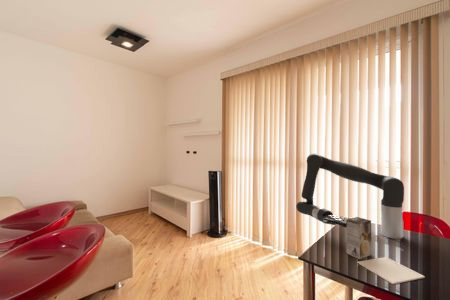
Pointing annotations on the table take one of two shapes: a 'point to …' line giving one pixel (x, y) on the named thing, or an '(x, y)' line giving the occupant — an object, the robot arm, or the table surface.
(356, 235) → the coffee box
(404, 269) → the mat
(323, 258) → the table surface
